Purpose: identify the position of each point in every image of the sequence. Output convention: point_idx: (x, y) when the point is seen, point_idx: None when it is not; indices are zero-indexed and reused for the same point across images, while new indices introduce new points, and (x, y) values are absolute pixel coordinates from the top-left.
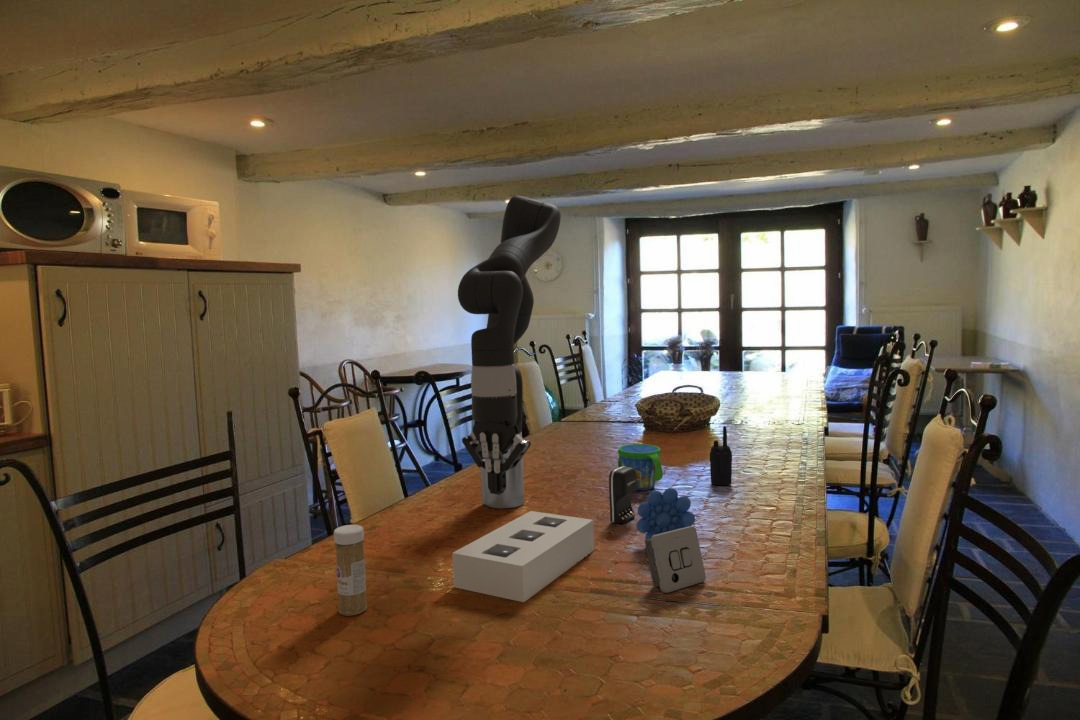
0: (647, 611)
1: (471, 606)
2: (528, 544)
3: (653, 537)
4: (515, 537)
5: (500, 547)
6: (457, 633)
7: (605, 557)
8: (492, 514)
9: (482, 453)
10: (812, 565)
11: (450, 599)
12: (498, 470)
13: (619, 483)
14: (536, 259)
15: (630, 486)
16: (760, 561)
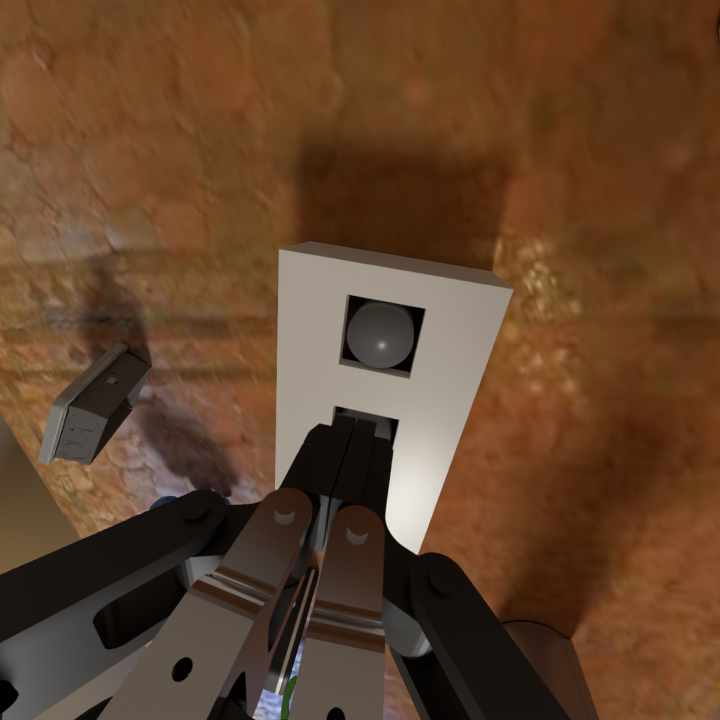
0: (110, 271)
1: (409, 182)
2: (332, 387)
3: (59, 403)
4: (383, 424)
5: (391, 359)
6: (379, 7)
7: (268, 455)
8: (534, 602)
9: (381, 698)
10: (36, 461)
11: (475, 203)
12: (274, 503)
13: None
14: None
15: None
16: (86, 465)
